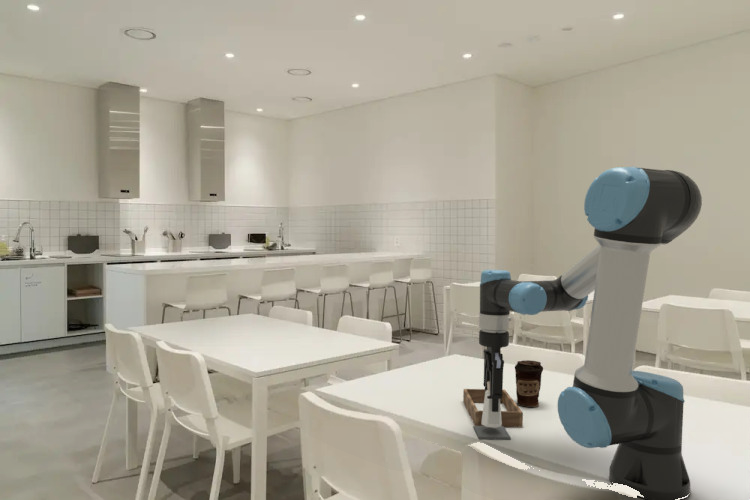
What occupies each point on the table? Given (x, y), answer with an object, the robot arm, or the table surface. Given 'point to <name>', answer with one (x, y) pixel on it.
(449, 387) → the table surface
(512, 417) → the tray
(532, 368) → the coffee cup
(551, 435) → the table surface
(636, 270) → the robot arm
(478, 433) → the mat
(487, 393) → the salt shaker
